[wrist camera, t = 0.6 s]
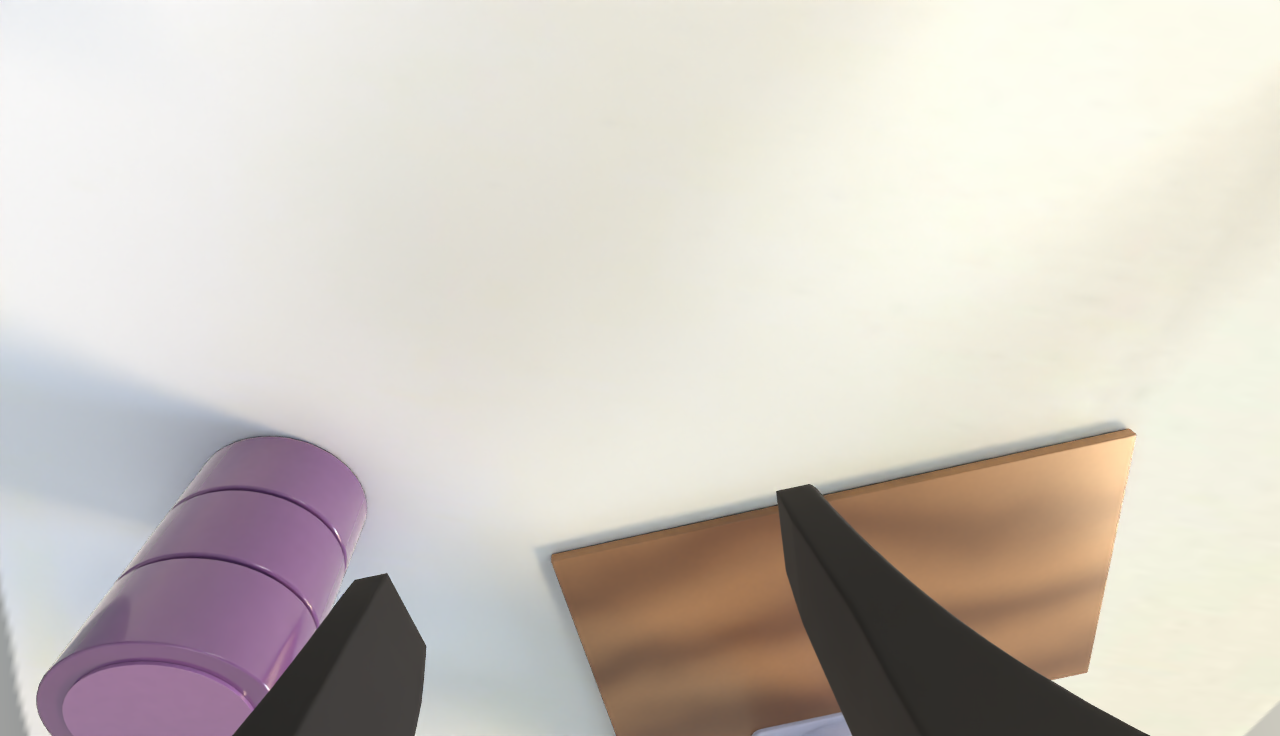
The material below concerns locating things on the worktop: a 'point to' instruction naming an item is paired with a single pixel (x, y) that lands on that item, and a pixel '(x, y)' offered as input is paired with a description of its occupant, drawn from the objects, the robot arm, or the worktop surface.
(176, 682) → the dish top
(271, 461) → the dish bottom
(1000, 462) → the mat
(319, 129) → the worktop surface
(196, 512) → the dish middle
